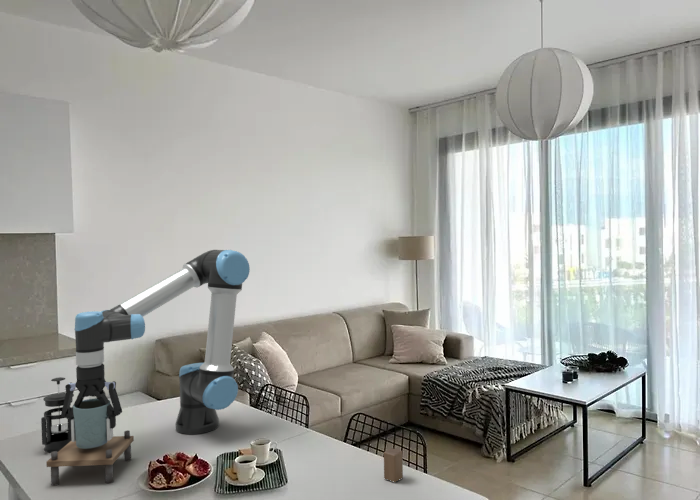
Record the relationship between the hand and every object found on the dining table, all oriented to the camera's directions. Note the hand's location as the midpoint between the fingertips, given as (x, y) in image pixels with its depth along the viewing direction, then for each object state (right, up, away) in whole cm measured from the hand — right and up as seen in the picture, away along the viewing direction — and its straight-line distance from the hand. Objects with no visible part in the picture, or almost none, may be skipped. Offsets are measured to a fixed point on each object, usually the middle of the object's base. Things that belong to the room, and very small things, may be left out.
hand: (92, 439), depth 163 cm
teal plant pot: (0, -1, 0) cm, 1 cm away
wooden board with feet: (0, -10, 0) cm, 10 cm away
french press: (-20, -9, +19) cm, 29 cm away
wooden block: (+89, -9, -8) cm, 89 cm away
